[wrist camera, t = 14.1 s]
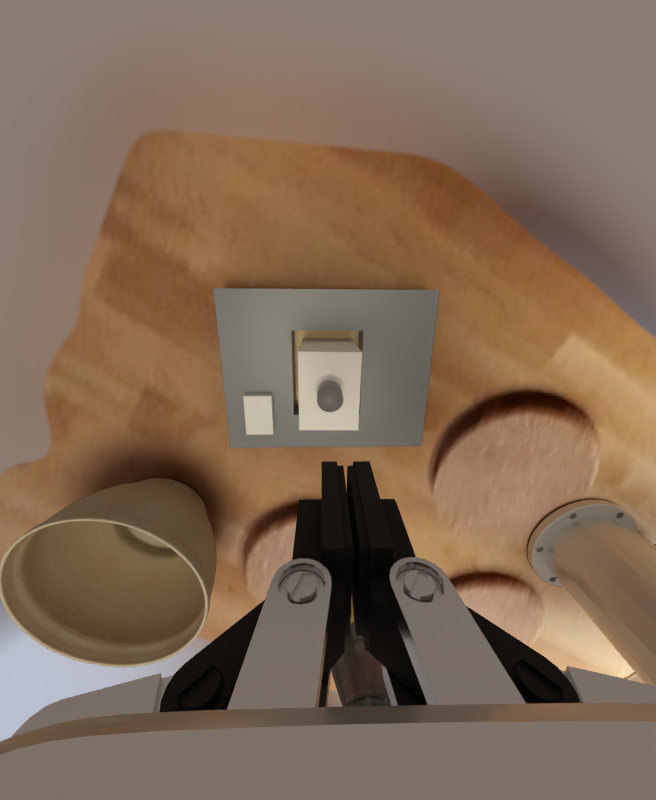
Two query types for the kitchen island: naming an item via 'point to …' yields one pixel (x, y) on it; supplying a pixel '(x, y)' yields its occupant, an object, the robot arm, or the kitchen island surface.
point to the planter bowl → (115, 575)
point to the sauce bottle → (359, 674)
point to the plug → (329, 384)
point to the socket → (325, 318)
